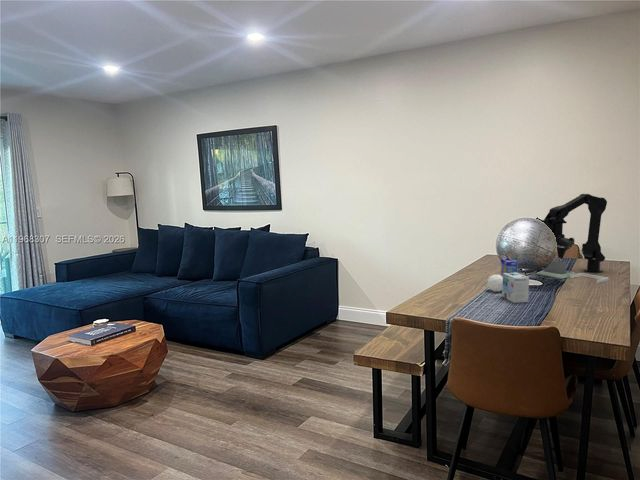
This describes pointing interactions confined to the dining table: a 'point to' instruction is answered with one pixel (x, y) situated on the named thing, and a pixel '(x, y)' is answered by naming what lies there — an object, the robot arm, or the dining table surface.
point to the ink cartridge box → (508, 265)
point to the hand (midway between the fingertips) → (554, 261)
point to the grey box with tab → (557, 267)
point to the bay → (602, 279)
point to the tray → (556, 274)
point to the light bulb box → (515, 287)
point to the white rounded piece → (495, 283)
